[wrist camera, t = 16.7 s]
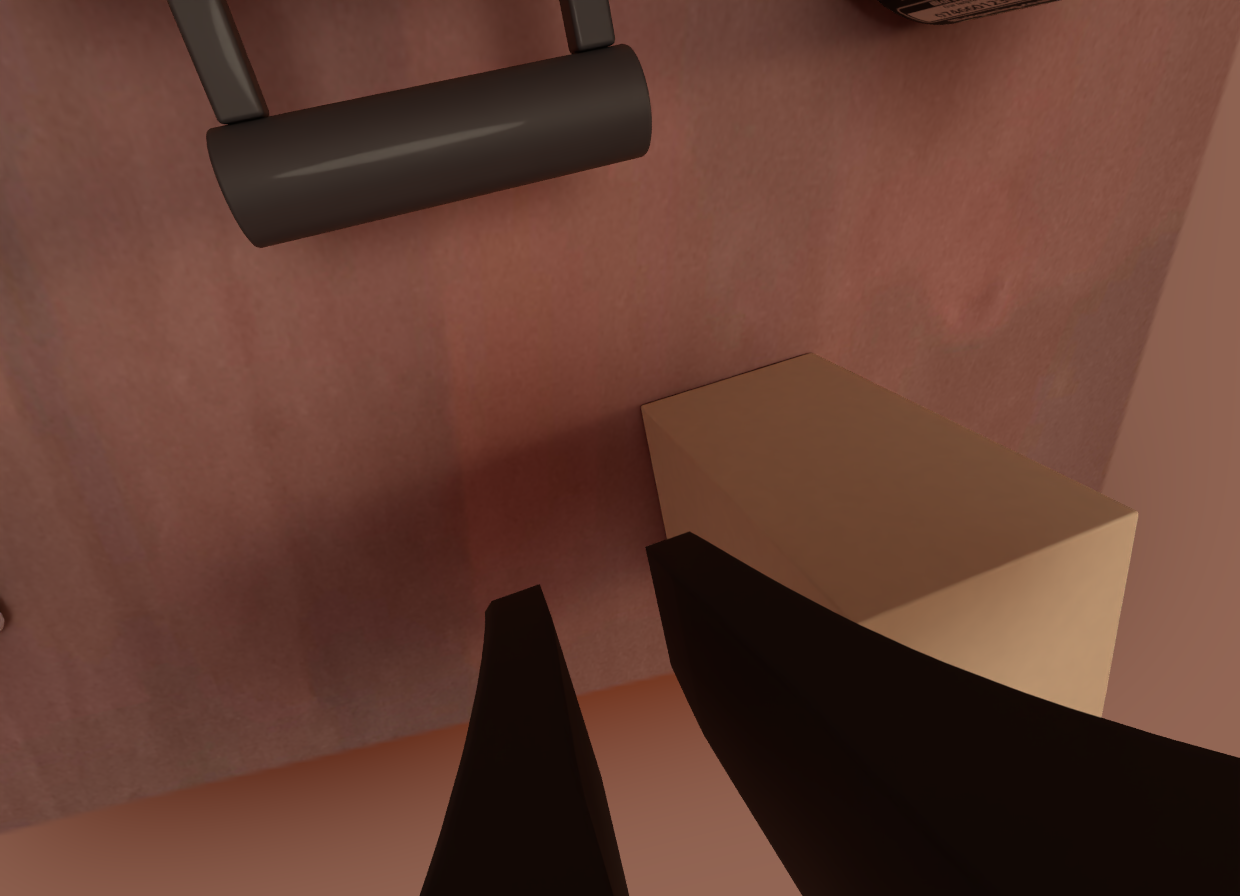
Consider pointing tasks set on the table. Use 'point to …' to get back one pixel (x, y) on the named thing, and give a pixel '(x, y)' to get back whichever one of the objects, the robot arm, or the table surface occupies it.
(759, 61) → the table surface
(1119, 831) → the robot arm
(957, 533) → the pedestal
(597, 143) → the drawer
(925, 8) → the beverage can
